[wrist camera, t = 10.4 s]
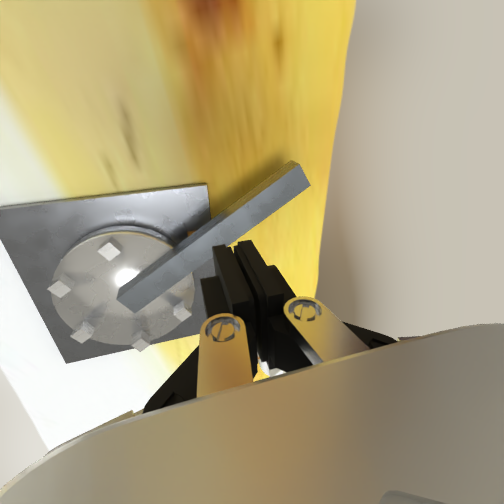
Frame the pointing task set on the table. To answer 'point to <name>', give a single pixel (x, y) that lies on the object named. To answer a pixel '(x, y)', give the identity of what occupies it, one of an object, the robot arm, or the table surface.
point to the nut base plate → (85, 222)
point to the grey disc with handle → (153, 269)
